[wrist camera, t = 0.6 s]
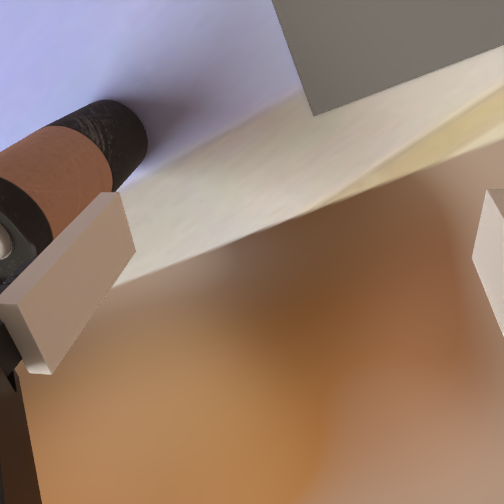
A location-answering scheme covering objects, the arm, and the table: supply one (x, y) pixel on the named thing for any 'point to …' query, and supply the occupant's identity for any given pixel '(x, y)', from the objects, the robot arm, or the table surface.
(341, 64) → the mat
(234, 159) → the table surface
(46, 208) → the travel mug
